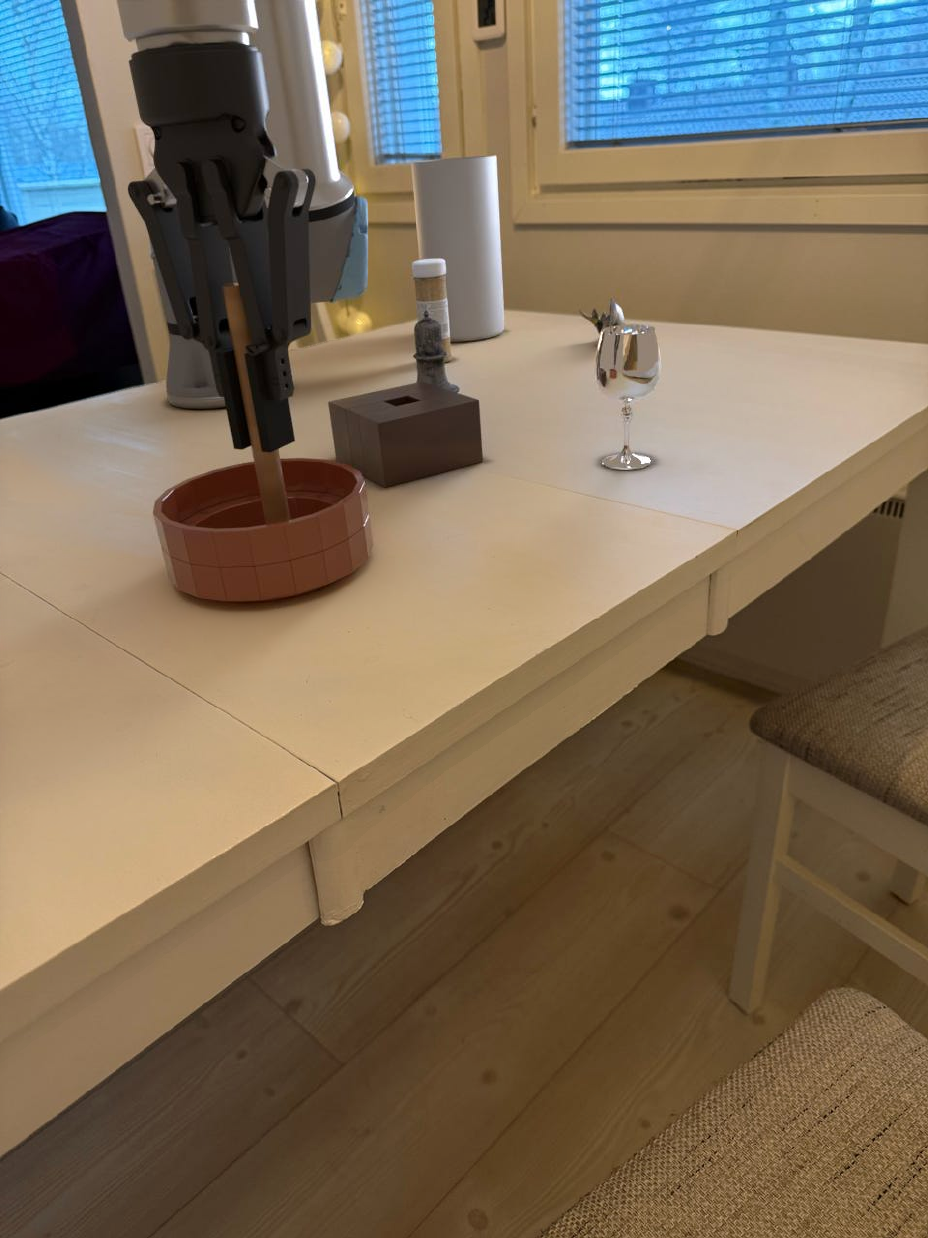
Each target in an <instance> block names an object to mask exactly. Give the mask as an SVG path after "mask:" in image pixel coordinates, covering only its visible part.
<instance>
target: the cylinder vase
mask: <svg viewBox="0 0 928 1238" xmlns="http://www.w3.org/2000/svg"><path fill="white" fill-rule="evenodd" d="M497 159H498V158H497V155H495V154H494V155H477V156H463V157H449V158H439V159H428V160H417V161H411V162H410V166H411V178H412V179H411V180H412V189H413V190H412V191H413V198H414V199H413V202H414V212H415V213H414V214H415V224H416V225H415V226H416V236H417V246H418V247H417V248H418V258H419V259H418V260H423V259H443V260H445V266H446V274H445V275H446V277H445V283H446V294H447V303H448V316H449V329H450V343H459V342H472V341H480V340H485V339H490V338H493V337H496V336H498V335H500V334H502V333H503V331H504V330H505V311H504V310H505V309H504V307H505V304H504V287H503V286H504V284H503V268H502V267H503V266H502V263H503V262H502V245H501V226H500V225H501V224H500V203H499V183H498V163H497V162H498V160H497Z"/></svg>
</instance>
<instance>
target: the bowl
mask: <svg viewBox="0 0 928 1238" xmlns="http://www.w3.org/2000/svg"><path fill="white" fill-rule="evenodd" d="M280 461H281V466H282V472H283V478H284V484H285V490H286V496H287V502H288V508H289V513H290V519H291V520H289V521H285V522H280V523H274V524H267V525H266V523H265V518H264V512H263V507H262V502H261V496H260V491H259V485H258V480H257V474H256V469H255V464H254V461H249V462H242V463H237V464H233V465H229V466H224V467H220V468H215V469H212V470H209V471H206V472H203V473H200V474H198V475H195V476H192V477H189V478H187V479H185V480H182V481H181V482H179V483H177V484H175V485H173V486H171V487H169V488H168V489H166V490H164V492H163V493H162V494H161V495H160V496H159V497H158V498H157V499H156V500H154V504H153V508H152V509H153V510H152V516H153V520H154V524H155V527H156V532H157V536H158V541H159V543H160V548H161V552H162V556H163V560H164V564H165V568H166V573H167V577H168V579H169V580H170V582H171V583H172V584H173V585H174V586H175V588H176V589H177V590H178V591H181V592H183V593H186V594H188V595H191V596H193V597H196V598H198V599H205V600H213V601H221V602H231V603H232V602H233V603H234V602H235V603H259V602H260V603H261V602H262V603H263V602H271V601H278V600H283V599H288V598H292V597H296V596H300V595H304V594H307V593H311V592H313V591H316V590H318V589H321V588H324V587H326V586H328V585H330V584H331V583H334V582H336V581H338V580H340V579H342V578H344V577H346V576H347V575H350V574H352V573H354V571H356V570H357V569H358V568H359V567H360V566H361V565H363V564H364V563H365V562H366V561H367V560H368V559H369V557H370V555H371V552H372V549H373V547H374V540H373V533H372V525H371V516H370V508H369V500H368V493H367V486H366V485H367V484H366V479H365V478H364V476H363V475H362V474H361V472H360V471H358V470H357V469H355V468H353V467H351V466H349V465H347V464H344V463H340V462H338V461H336V460H335V461H334V460H329V459H323V458H322V459H321V458H309V457H308V458H307V457H292V458H280Z"/></svg>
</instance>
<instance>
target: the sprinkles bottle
mask: <svg viewBox="0 0 928 1238" xmlns="http://www.w3.org/2000/svg"><path fill="white" fill-rule="evenodd" d="M411 273H412V275H411V276H412V277H413V278H412V279H413V281H414V291H415V307H416V317H417V322H419V321H421V320H422V319H423V318H424V315H423V314H424V312H425V310H427V311H428V313H429V318H431V319H433V320H436V321H437V322H438V323H439V324H440V326H441V334H442V347H443V351H444V352H446V353H447V355H446V356H445V357H444V363H448V362H450V361H451V360H452V359H453V354H452V346H451V342H450V329H449V316H448V303H447V294H446V283H445V277H446V275H445V274H446V266H445V260H443V259H423V260H419V259H418V260H415V261H412V262H411Z"/></svg>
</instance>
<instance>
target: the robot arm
mask: <svg viewBox="0 0 928 1238" xmlns="http://www.w3.org/2000/svg"><path fill="white" fill-rule="evenodd" d="M116 5H117V9H118V13H119V18H120V23H121V29H122V32H123V33H122V34H123V37H124V39H126V40H127V42H129V43H131V44H135V45H136V47H137V51H136V52H133V53H131V55H130V58H131V59H129V60H128V66H129V70H130V71H129V72H130V76H131V79H132V85H133V89H134V94H135V99H136V104H137V109H138V114H139V118H140V120H141V122H142V123H143V124H144V125H145V126H147V127H149V128H150V129H151V131H152V133H153V138H154V148H153V155H152V162H153V166H154V168H153V169H152V170H151V171H150V172H149V174H148V175H146V177H145V178H144V179H143V180H134V181H130V182H129V183H128V185H127V193H128V195H129V198H130V201H131V202H132V203H133V205H134V207H135V208H136V210H137V212H138V214H139V215H140V217H141V219H142V220H143V222H144V225H145V228H146V231H147V234H148V240H149V245H150V252H151V253H150V259H151V260H152V263H153V267H154V272H155V276H156V281H157V284H158V290H159V294H160V299H161V303H162V309H163V313H164V316H165V317H164V318H165V321H166V326H167V330H168V334H169V335H168V336H169V350H168V361H167V372H166V381H165V387H166V395H167V399H168V402H169V404H170V405H172V406H175V407H177V408H183V409H197V410H199V409H203V410H204V409H219V408H226V409H225V410H226V415H227V420H228V425H229V430H230V436H231V440H232V446H233V449H234V450H241V451H242V450H245V449H247V448H249V447H251V442H250V436H249V431H248V426H247V420H246V415H245V409H244V404H243V398H242V393H241V388H240V382H239V377H238V371H237V366H236V361H235V355H234V350H233V344H232V339H231V333H230V328H229V323H228V317H227V312H226V306H225V301H224V295H223V290H222V285H224V284H229V283H236V282H238V286H239V290H240V294H241V298H242V302H243V306H244V311H245V315H246V319H247V323H248V327H249V331H250V335H251V340H252V344H251V345H248V346H245V348H246V350H247V352H248V353H246V354H244V355H245V361H246V366H247V372H248V378H249V383H250V389H251V394H252V400H253V405H254V411H255V416H256V422H257V428H258V433H259V439H260V444H261V450H262V452H269V453H271V452H273V451H275V450H277V449H279V450H280V449H281V448H284V447H286V446H287V445H290V444H292V443H294V442H295V441H296V439H295V433H294V426H293V420H292V414H291V413H292V412H291V408H290V407H291V406H290V402H289V398H291V397H293V396H294V390H295V387H294V381H293V374H292V367H291V361H290V355H289V347H290V345H291V344H292V343H293V342H295V341H297V340H299V339H301V338H304V337H306V336H309V335H310V334H311V332H312V304H319V303H330V304H333V303H335V302H337V301H345V300H351V299H356V298H359V297H361V296H362V295H363V294H364V293H365V292H366V290H367V288H368V277H369V276H368V275H369V205H368V200H367V199H366V198H365V197H363V196H360V195H355V189H354V188H355V187H354V183H353V181H352V179H351V177H348V176H347V175H346V174H345V173H344V172H342V171H341V170H340V169H339V165H338V157H337V148H336V142H335V135H334V127H333V121H332V119H333V118H332V112H331V105H330V98H329V97H330V96H329V90H328V82H327V76H326V67H325V62H324V55H323V46H322V40H321V32H320V25H319V17H318V10H317V1H316V0H116Z"/></svg>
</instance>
